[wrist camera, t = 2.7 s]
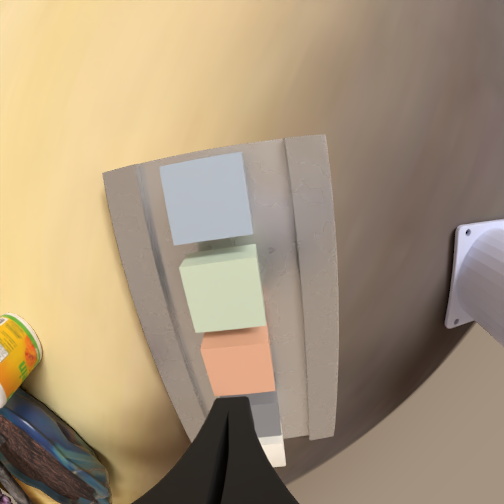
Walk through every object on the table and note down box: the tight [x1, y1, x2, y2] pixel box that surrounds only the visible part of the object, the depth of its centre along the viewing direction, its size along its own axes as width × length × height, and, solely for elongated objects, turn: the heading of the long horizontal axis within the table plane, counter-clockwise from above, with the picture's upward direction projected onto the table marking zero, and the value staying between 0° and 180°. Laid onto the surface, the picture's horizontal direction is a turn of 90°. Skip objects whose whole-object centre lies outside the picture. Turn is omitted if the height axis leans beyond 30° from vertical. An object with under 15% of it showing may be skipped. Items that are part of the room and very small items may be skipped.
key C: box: [200, 322, 276, 396], centre depth 15 cm, size 3×3×2 cm
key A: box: [258, 427, 286, 467], centre depth 18 cm, size 3×3×2 cm
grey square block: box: [159, 152, 253, 246], centre depth 13 cm, size 3×3×2 cm
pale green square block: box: [179, 244, 266, 333], centre depth 14 cm, size 3×3×2 cm
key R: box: [220, 383, 282, 438], centre depth 17 cm, size 3×3×2 cm
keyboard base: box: [102, 134, 339, 443], centre depth 18 cm, size 12×22×2 cm, turn 8°
